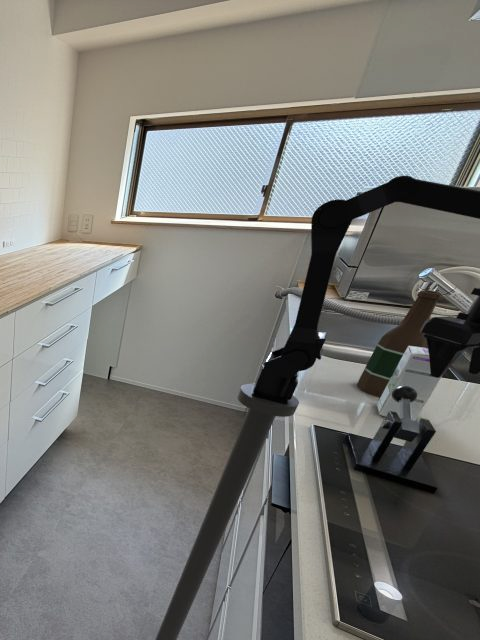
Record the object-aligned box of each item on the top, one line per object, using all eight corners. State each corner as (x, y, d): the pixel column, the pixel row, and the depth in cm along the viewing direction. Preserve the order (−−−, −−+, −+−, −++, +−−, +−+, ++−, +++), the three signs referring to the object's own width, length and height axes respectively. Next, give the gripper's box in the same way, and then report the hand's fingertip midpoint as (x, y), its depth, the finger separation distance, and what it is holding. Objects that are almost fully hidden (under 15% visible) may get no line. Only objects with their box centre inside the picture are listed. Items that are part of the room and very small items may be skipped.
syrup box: (414, 424, 85) (454, 360, 78) (376, 414, 88) (412, 352, 81) (409, 413, 89) (447, 351, 82) (374, 404, 92) (407, 344, 85)
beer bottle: (355, 380, 103) (404, 285, 93) (396, 390, 99) (454, 292, 88) (356, 391, 98) (408, 291, 87) (400, 402, 94) (461, 298, 83)
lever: (387, 392, 77) (397, 380, 75) (410, 397, 75) (421, 385, 73) (388, 438, 70) (399, 426, 68) (414, 444, 69) (425, 432, 66)
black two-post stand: (345, 437, 79) (366, 397, 75) (415, 457, 74) (442, 415, 70) (353, 469, 70) (378, 425, 66) (434, 493, 65) (466, 448, 61)
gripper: (546, 301, 55) (476, 401, 63) (632, 299, 60) (557, 393, 67) (445, 281, 65) (394, 370, 72) (525, 281, 69) (469, 365, 76)
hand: (454, 375), depth 72 cm, fingers open, 9 cm apart
